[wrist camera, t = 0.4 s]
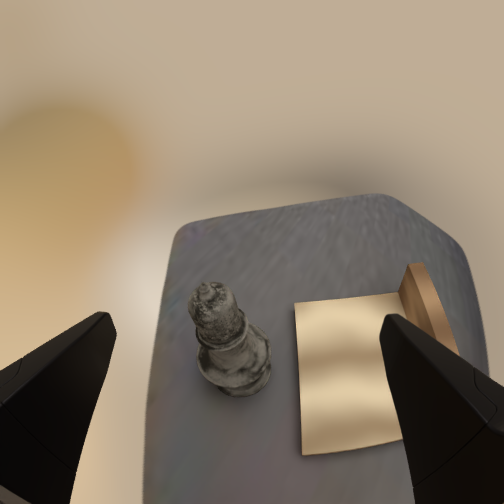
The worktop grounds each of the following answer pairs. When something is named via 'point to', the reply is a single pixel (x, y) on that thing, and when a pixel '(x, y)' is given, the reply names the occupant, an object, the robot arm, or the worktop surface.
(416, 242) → the worktop surface
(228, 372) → the grey tall rounded piece
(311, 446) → the board
